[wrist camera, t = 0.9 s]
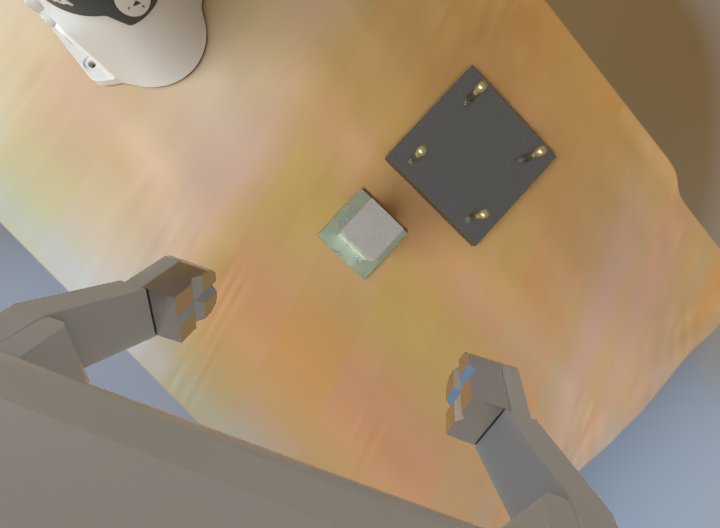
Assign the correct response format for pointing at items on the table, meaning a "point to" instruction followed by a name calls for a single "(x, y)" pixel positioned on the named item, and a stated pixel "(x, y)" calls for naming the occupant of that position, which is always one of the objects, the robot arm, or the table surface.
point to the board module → (362, 234)
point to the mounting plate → (471, 157)
